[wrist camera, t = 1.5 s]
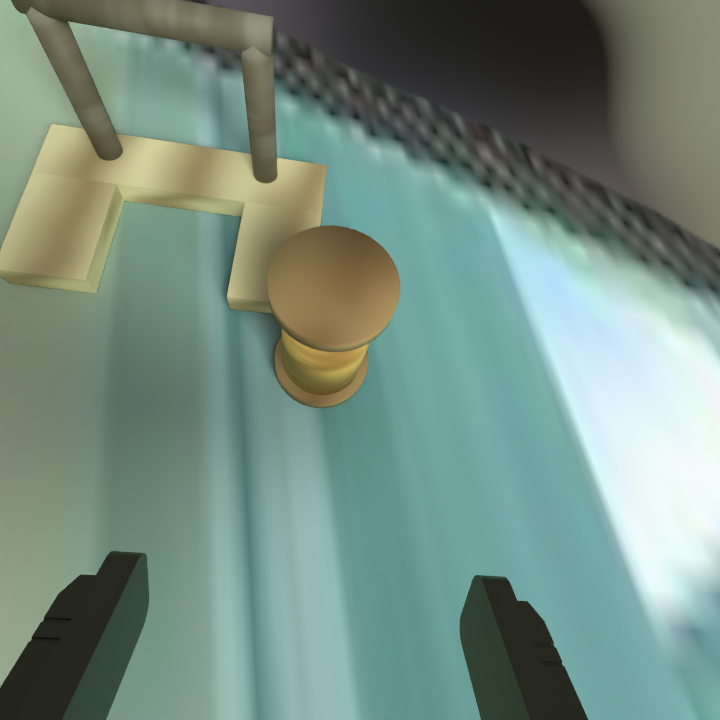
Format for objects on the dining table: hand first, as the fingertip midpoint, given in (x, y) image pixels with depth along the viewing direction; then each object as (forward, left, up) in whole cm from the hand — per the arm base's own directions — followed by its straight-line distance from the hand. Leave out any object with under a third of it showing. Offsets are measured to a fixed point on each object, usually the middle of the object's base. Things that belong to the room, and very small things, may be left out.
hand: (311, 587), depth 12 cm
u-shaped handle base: (-10, +19, -14) cm, 26 cm away
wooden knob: (0, +11, -14) cm, 18 cm away
